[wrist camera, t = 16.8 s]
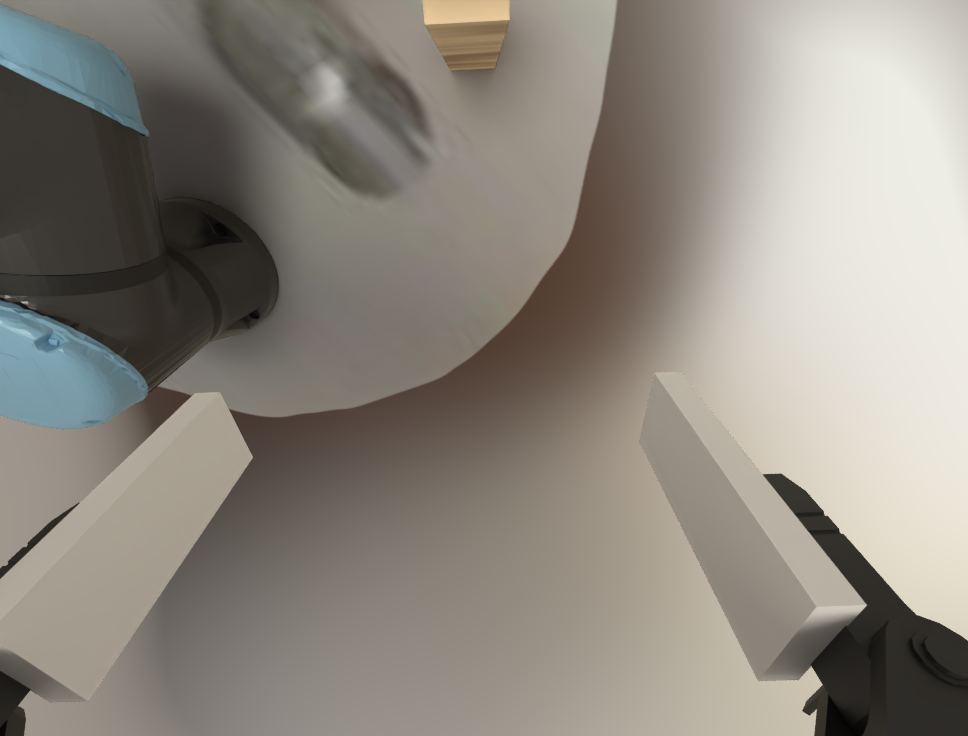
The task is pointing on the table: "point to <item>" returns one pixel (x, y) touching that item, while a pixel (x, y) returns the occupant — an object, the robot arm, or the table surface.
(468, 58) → the wooden key peg
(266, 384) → the table surface
